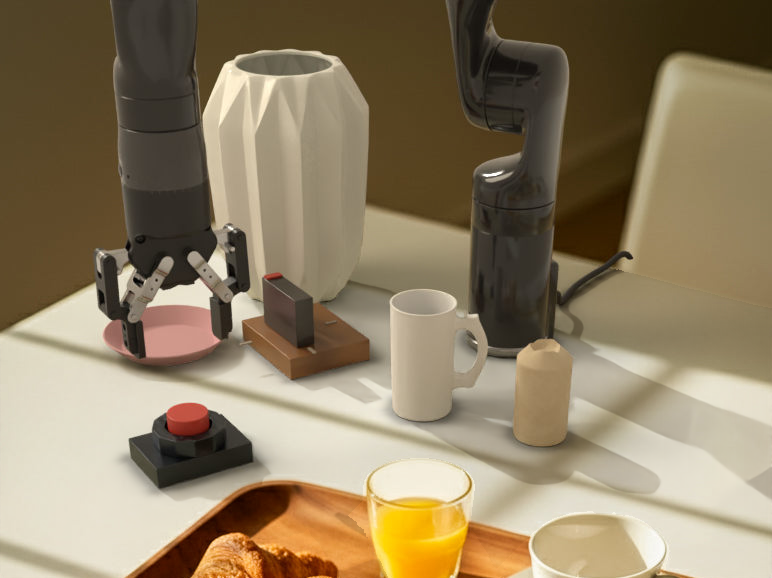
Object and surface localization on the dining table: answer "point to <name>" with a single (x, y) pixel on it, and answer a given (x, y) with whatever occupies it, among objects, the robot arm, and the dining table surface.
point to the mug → (429, 353)
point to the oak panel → (329, 350)
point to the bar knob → (288, 309)
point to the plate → (168, 335)
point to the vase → (290, 166)
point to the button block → (189, 451)
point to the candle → (542, 393)
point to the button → (188, 419)
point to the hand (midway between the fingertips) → (180, 346)
